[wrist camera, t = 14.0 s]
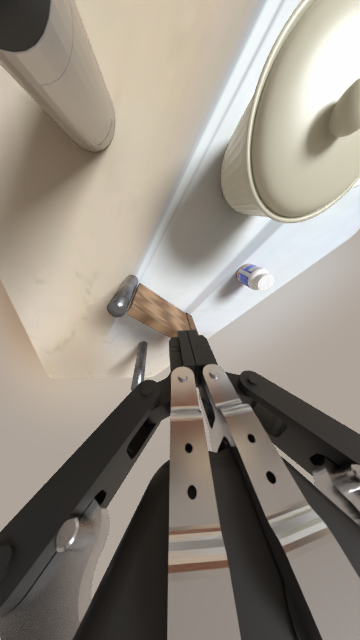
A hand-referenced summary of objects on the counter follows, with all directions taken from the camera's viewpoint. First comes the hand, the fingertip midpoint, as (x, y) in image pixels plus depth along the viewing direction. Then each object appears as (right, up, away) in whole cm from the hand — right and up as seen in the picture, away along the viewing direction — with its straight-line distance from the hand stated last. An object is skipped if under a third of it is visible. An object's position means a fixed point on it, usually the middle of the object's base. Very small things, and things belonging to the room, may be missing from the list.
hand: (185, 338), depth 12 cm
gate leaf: (-5, +7, +32) cm, 33 cm away
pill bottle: (+19, +16, +30) cm, 39 cm away
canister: (+14, +33, +19) cm, 40 cm away
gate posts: (-14, +2, +33) cm, 36 cm away
